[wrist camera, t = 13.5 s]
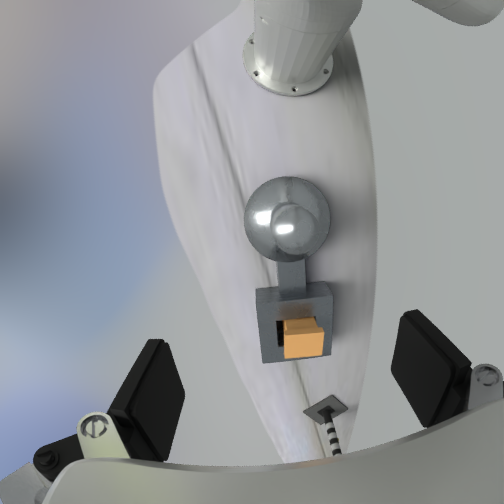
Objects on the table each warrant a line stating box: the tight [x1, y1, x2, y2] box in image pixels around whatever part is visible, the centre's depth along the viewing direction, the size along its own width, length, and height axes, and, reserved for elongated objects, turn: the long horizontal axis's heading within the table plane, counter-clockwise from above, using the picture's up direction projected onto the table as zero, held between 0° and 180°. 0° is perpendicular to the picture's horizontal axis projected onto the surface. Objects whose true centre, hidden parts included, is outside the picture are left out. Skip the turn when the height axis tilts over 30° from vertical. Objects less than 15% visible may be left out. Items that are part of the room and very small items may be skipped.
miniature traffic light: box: [303, 395, 348, 456], centre depth 32 cm, size 8×8×30 cm
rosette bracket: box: [244, 177, 333, 363], centre depth 34 cm, size 26×11×10 cm, turn 6°
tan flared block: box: [282, 316, 324, 359], centre depth 36 cm, size 4×5×9 cm
